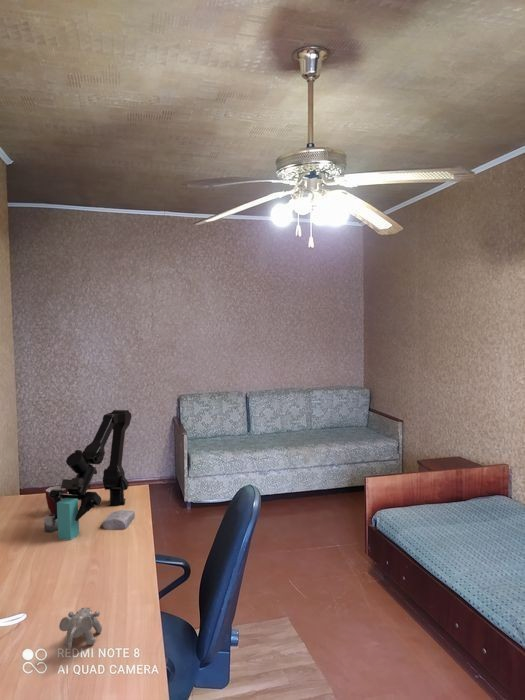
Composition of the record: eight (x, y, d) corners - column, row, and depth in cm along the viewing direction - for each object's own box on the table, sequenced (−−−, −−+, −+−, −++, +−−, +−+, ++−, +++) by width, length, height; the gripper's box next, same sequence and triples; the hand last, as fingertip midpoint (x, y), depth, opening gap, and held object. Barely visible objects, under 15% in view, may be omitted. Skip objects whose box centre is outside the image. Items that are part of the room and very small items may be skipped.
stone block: (101, 535, 182) (128, 529, 181) (99, 522, 182) (125, 516, 181) (112, 523, 193) (137, 518, 193) (109, 511, 193) (134, 506, 193)
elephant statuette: (101, 627, 123) (100, 596, 123) (103, 654, 112) (102, 620, 112) (61, 636, 120) (60, 605, 120) (59, 665, 109) (57, 630, 109)
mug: (46, 509, 203) (45, 485, 202) (67, 506, 206) (66, 482, 206) (46, 518, 193) (45, 493, 193) (68, 515, 196) (67, 490, 196)
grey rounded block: (46, 528, 184) (45, 514, 184) (60, 526, 185) (59, 513, 185) (43, 533, 179) (42, 519, 179) (58, 531, 181) (57, 518, 180)
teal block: (67, 533, 179) (65, 497, 179) (79, 534, 178) (77, 498, 177) (58, 538, 174) (56, 502, 174) (70, 540, 173) (69, 503, 173)
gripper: (50, 467, 181) (31, 508, 171) (96, 470, 177) (78, 512, 167) (64, 482, 189) (47, 521, 179) (108, 484, 185) (92, 525, 175)
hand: (65, 519), depth 175 cm, fingers open, 8 cm apart
